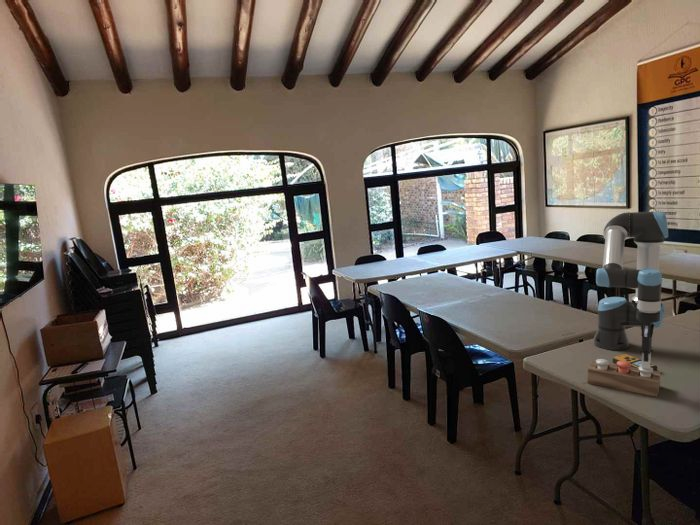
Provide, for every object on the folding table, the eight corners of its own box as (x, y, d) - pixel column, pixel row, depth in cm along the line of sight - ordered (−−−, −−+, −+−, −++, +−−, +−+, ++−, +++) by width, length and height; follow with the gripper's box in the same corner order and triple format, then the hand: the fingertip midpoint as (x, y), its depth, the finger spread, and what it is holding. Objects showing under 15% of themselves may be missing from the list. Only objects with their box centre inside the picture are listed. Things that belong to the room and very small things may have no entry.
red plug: (617, 377, 189) (617, 359, 187) (630, 379, 186) (631, 362, 184) (615, 381, 185) (615, 364, 184) (629, 384, 182) (629, 366, 181)
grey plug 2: (638, 382, 184) (639, 365, 183) (652, 385, 181) (653, 367, 180) (637, 387, 181) (637, 369, 179) (651, 390, 178) (652, 372, 176)
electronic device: (624, 359, 209) (625, 352, 209) (658, 372, 195) (658, 364, 194) (611, 363, 206) (611, 356, 206) (643, 376, 192) (643, 368, 191)
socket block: (592, 373, 197) (592, 360, 196) (659, 386, 182) (660, 371, 181) (587, 383, 189) (587, 369, 188) (657, 396, 175) (658, 382, 173)
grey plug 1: (596, 374, 194) (597, 358, 192) (609, 377, 191) (610, 360, 189) (594, 379, 190) (595, 362, 188) (607, 381, 187) (608, 364, 185)
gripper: (639, 304, 182) (636, 360, 187) (634, 313, 172) (632, 372, 177) (661, 306, 178) (658, 363, 182) (658, 316, 168) (655, 376, 172)
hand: (645, 367), depth 179 cm, fingers closed
